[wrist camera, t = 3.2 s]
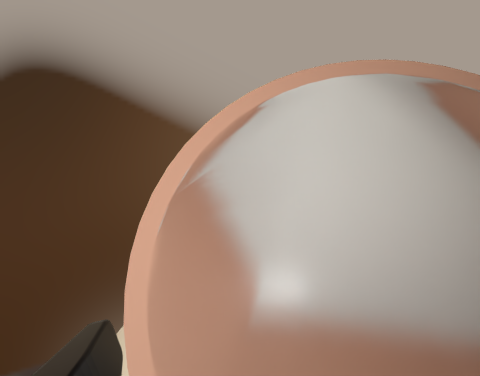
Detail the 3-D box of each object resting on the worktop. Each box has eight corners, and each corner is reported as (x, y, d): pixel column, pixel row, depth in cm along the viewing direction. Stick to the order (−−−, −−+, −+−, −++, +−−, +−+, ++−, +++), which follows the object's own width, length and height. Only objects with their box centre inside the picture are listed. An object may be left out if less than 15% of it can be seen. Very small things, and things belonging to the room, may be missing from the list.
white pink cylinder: (392, 331, 14) (798, 202, 3) (326, 457, 12) (675, 1026, 2) (282, 259, 15) (306, 5, 5) (211, 365, 14) (7, 349, 3)
